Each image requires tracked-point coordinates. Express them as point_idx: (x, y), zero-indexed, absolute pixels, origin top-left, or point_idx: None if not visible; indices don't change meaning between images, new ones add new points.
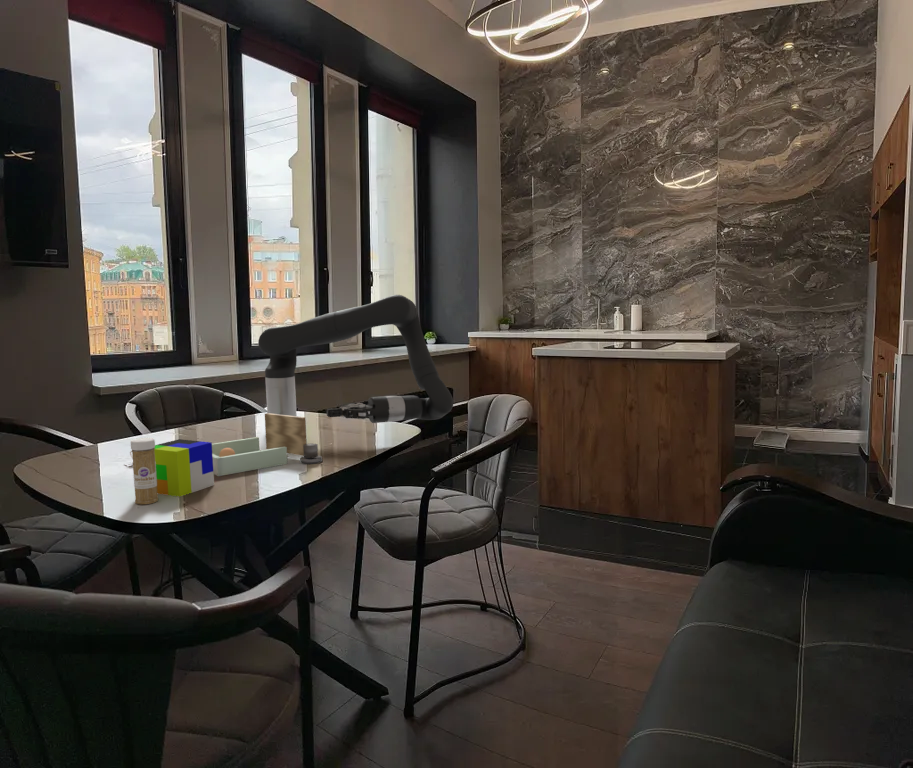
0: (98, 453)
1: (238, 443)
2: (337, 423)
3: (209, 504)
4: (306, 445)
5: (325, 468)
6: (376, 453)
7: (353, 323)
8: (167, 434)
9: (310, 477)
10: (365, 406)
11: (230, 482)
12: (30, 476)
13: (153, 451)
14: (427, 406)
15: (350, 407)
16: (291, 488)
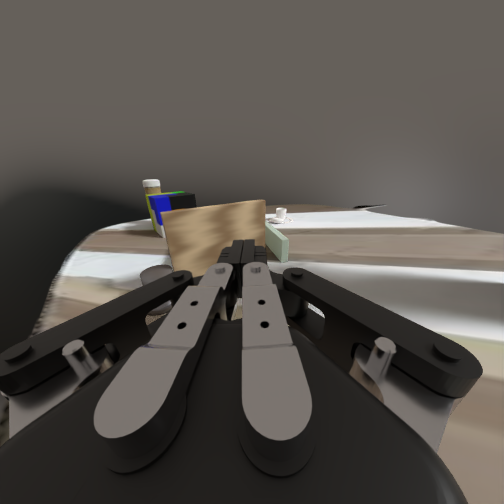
0: (326, 211)
1: (271, 234)
2: None
3: (112, 236)
4: (159, 267)
5: (90, 308)
6: None
7: None
8: (420, 224)
9: (76, 285)
10: (104, 439)
11: (158, 243)
12: (269, 206)
13: (146, 189)
14: None
15: (192, 288)
16: (66, 267)
